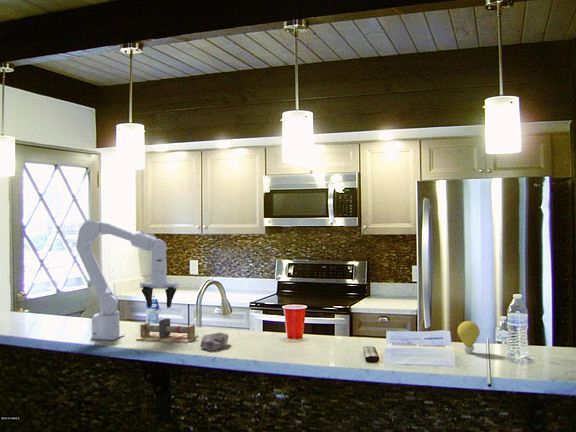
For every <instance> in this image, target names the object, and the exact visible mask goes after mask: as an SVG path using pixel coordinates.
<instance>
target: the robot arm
mask: <svg viewBox="0 0 576 432" xmlns="http://www.w3.org/2000/svg"><path fill="white" fill-rule="evenodd" d="M99 234H100V235H102V236H103V235H112V236H115V237H117V238H121V239H122V240H123V239H124V240H127V241H129V242H130V245H131V246H132V247H135V248H137V249H138V248H139V249H141V250H143V251H146V252H150V251H151V260H150V262H151V264H150V271H151V272H150V279H151V280H150V281H149V282H148V281H147V282H140V283H139V288H140V289H141V293H142V294H143V296H144V298H145V301H146V304H147V308H152V307H153V290H154V289H165V295H166V308H167V309H169V308H171V306H172V302H173V299H174V297H175V293H176V292H177V289H178V288H179V282H168V280H167V278H168V275H167V273H168V269H167V268H168V266H167V264H168V262H167V253H166V252H168V251H167V250H168V246H167V242H165V241H164V240H162V239H161V238H158V237H157V236H151V235H150V234H146V233H145V231H143V230H141V231H135V232H131V231H128V230H126V229H123V228H120V227H118V226H116V225H113V224H111V223H109V222H108V223H107V222H103V221H97V220H95V219H90V220H89V219H88V220H85V221H84V222H83V223H82V225H81V226H80V228H79V230H78V236H77V240H76V241H77V242H76V246H75V247H76V248H75V249H76V251H77V253H78V254H79V255H78V256H79V257H80V259H81V261H82V264H83V267H84V268H85V271H86V272H87V274H88V276H89V279H90V282H91V283H92V286H93V287H94V290H95V292H96V295H97V299H98V303H99V310H100V311H98V313H94V315H92V318H91V337H90V340H91V339H92V340H106V341H107V340H109V341H113V340H117V339H118V338H122V337H124V336H125V334H124V333H120V330H121V329H120V326H121V325H120V311H119V310H118V305H119V299H118V296H117V295H115V294H114V293H113V292H112V290H111V288H110V286H109V285H108V282H107V280H106V278H105V276H104V274H103V271H102V269H101V267H100V265H99V263H98V261H97V259H96V256H95V254H94V252H93V250H92V245H93V244H94V241H95V239H96V238H97V237H98V235H99Z"/></svg>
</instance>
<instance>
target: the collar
mask: <svg viewBox="0 0 576 432" xmlns="http://www.w3.org/2000/svg"><path fill="white" fill-rule="evenodd" d="M158 326H159V332H158V334H159V337H163V338H164V337H166V336H168V335H170V334H171V333H165V326H171V318H163V319H161V320H159V321H158Z"/></svg>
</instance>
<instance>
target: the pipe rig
mask: <svg viewBox="0 0 576 432" xmlns="http://www.w3.org/2000/svg"><path fill="white" fill-rule="evenodd" d="M139 328H140V329H139V330H140V332H139V333H140V336H138V337H137V338H135V341H144V342H145V341H147V342H164V343H184V344H185V343H186V344H187V343H189V342H191V341H193V340H195V339H197V338H199V335H197V334H196V325H195V324H190V325H189V326H182V325H181V326H180V325H177V326H176V325H170V326H165V333H170V335H168V336H166V337H164V338H163V337H159V324H158V325H157V324H156V325H154V324H152V325H151V323H150V322H145V323H141V324H140V327H139Z"/></svg>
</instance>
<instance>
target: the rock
mask: <svg viewBox="0 0 576 432" xmlns="http://www.w3.org/2000/svg"><path fill="white" fill-rule="evenodd" d="M228 341H229V334H227V333H223V332H216V333H215V332H214V333H210V334H209V333H208V334H204V335H203V336H202V337H201V340H200V345H199V346H200V348H201V349H202V350H207V351H209V352H212V351H217V350H221V348H223V347H226V346H227V344H228Z"/></svg>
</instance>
